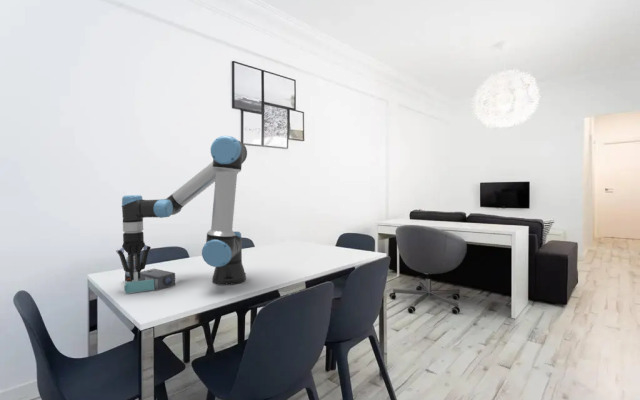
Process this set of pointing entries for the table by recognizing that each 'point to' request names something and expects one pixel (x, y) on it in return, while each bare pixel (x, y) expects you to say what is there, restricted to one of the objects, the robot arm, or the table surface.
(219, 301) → the table surface
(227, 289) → the table surface
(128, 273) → the beverage can
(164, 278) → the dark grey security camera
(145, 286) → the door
